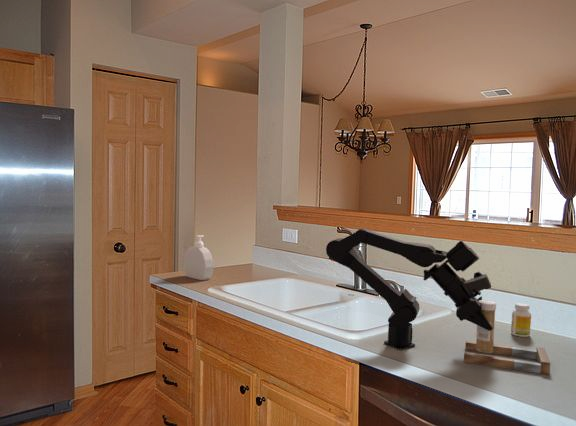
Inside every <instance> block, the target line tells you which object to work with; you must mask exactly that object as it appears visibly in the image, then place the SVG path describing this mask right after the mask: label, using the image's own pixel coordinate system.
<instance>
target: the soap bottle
mask: <svg viewBox="0 0 576 426" xmlns="http://www.w3.org/2000/svg"><path fill="white" fill-rule="evenodd" d="M204 237H205V235H204V234H200V235H198V234H197V235H196V241H195V242H194V243H193V246H191V247H189V248H188V249H187V251H186V252H185V256H184V261H183V265H184V266H183V268H184V272H185V276H186V277H187V278H191V279H194V280H198V281H207V280H210V279H211V277H212V275H213V272H214V266H215V265H214V259H213V256H212V253H211V251H210V250H209V249H208V248H207V247H204V245H205V244H204V242H203V241H202V238H204Z"/></svg>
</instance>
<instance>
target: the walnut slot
mask: <svg viewBox="0 0 576 426" xmlns="http://www.w3.org/2000/svg"><path fill="white" fill-rule="evenodd" d="M476 342H477V341H472V340H465V347H464V348H465V350H469V351H474V352H475V351H476V352H478V351H477V350H476ZM535 348H536V349H528V348H522V347H513V346H507V345H501V344H500V345H499V344H494V343H493V350H494V351H493V352H492V353H491V354H496V355H504V356H510V357H518V358H523V359H530V360H532V359H533V360H536V362H535V361H534V362H532V361H525V360H519V359H513V358H505V357H498V356H491V355H484V354H479V353H470V352H464V353H463V362H464V363H471V364H477V365H482V366H483V365H484V366H490V367H494V368H495V367H496V368H503V369H509V370H517V371H523V372H530V373H536V374H542V375H550V374H551V371H550V370H551V361H550V359H549V355H548V353H547V350H546V348H545V347H544V346H543V347H541V346H536V347H535Z"/></svg>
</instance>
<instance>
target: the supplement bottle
mask: <svg viewBox="0 0 576 426" xmlns="http://www.w3.org/2000/svg"><path fill="white" fill-rule="evenodd" d="M514 305H515V306H514V308H515V309H514V310H512V312H511V323H510V324H511V325H510V326H511V327H510V332H511V335H513V336H515V337H521V338H527V337H528V338H529V337H530V335H531V326H532V325H531V323H532V313H531V312H530V311H529V310H530V304H528V303H524V302H516V303H515V304H514Z"/></svg>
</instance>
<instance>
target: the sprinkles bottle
mask: <svg viewBox="0 0 576 426" xmlns="http://www.w3.org/2000/svg"><path fill="white" fill-rule="evenodd" d="M479 303H482V309H481V311H482V313H483V314H484V316H485V317H486V319H487V320H488V322H489V323H490V325H491V326H492V328H493V329H492V330H491V331H488V330H486V329H484V328H482V327H480V326H478V325H476V341H475V342H476V350H477V351H476V352H480V353H485V354H493V353H492V352H493V351H494V350H493V344H494V341H495V340H494V339H495V322H496V321H495V320H496V319H495V318H496V317H495V316H496V309H497V302H495V301H492V300H488V299H487V300H485V299H482V300H480V301H479Z"/></svg>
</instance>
